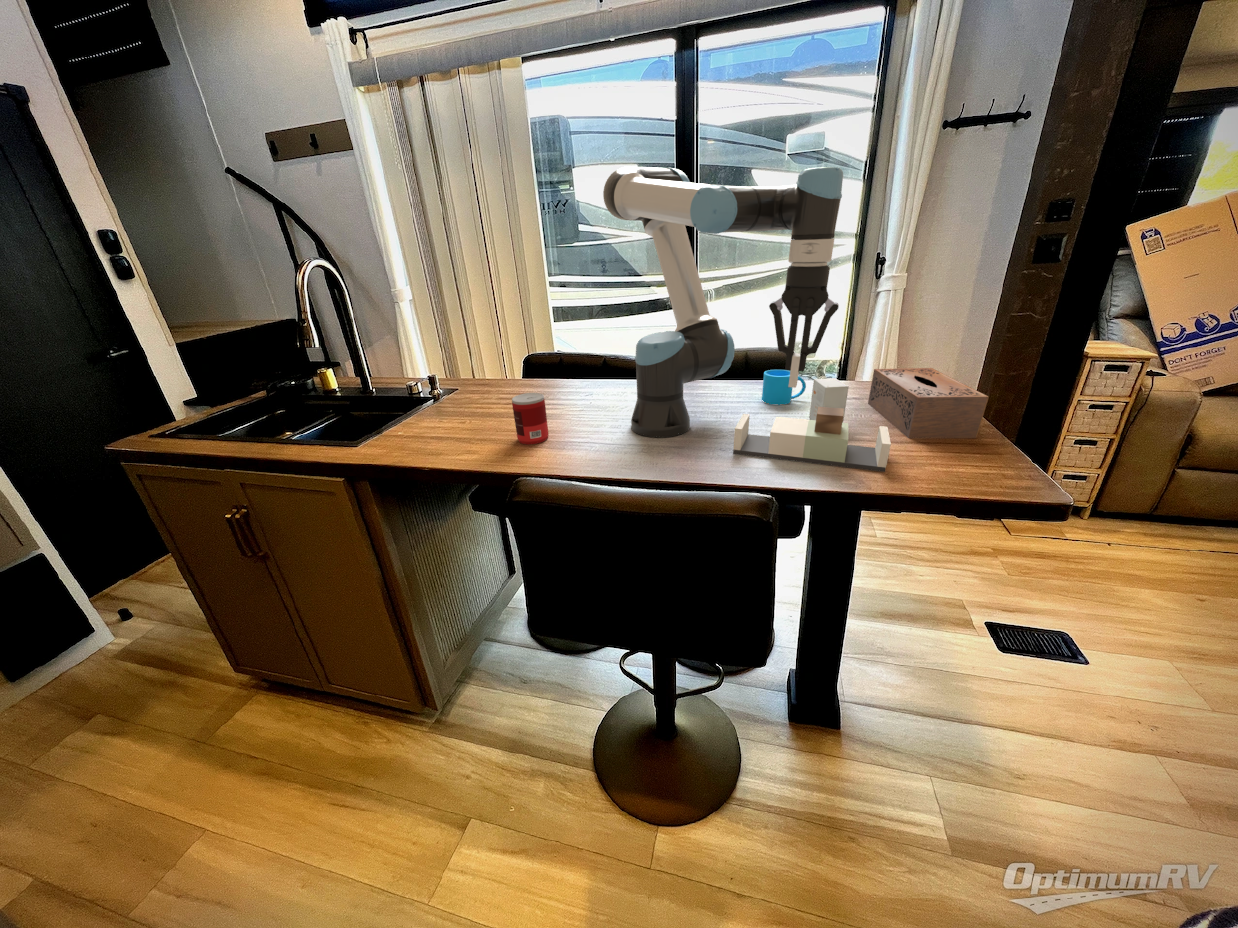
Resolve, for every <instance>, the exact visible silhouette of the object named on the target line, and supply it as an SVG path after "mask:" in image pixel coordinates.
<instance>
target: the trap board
mask: <svg viewBox="0 0 1238 928" xmlns="http://www.w3.org/2000/svg"><path fill="white" fill-rule="evenodd" d="M750 417H751V416H750V413H748V414H747V413H742V415H741V417H740V418H739V420H738V422H737V424H736V426H735V427H734V432H733V433H734V434H733V436H734V437H733V455H742V456H751V457H759V458H767V459H774V460H775V459H776V460H783V461H791V462H801V463H805V464H806V463H808V464H815V465H816V464H817V465H824V466H832V467H833V466H834V467H840V468H848V469H854V470H855V469H857V470H866V471H872V472H881V473H886V469H887V465H888V459H889V457H890V456H889V455H890V451H891V445H892V443H891V438H890V437H891V436H890V434H889V429H888V426H883V425H879V427H878V430H877V431H878V432H877V437H876V440H875V447H873V446H872V447H871V446H863V445H853V444H849V422H843V423H842V428H841V434H840V435H839V434H829V433H819V432H814V431H815V423H816V420H811V419H804V418H794V417H785V416H784V417H783V416H776V417H775V419H774V422H773V424H772V427H771V430H770V434H769V436H768V435H767V436H766V435H759V434H749V429H750V427H749V426H750Z"/></svg>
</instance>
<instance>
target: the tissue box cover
mask: <svg viewBox="0 0 1238 928" xmlns="http://www.w3.org/2000/svg"><path fill="white" fill-rule="evenodd" d="M989 397H990V396H988V395H986V394H985V393H982V392H980V391H978V390H976V389H974V388H972V387H971V386H968V385H966V384H964V383H962V382H960V381H959V380H956V379H954V378H953V377H950V376H949V375H947V374H944V373H942V372H940V371H938V370H936V369H934V368H933V367H913V368H912V367H909V368H908V367H907V368H905V367H903V368H874V369H873V375H872V379H871V385H870V391H869V397H868V401H867V404H868V405H870V407H871V408H873V409H874V410H875V411H876V412H877V413H878V414H880V415H881V416H882V418H883V419H885V420H887V422H889V423H890V424H891V425H893V427H894V428H896V429H897V431H899V432H900V433H901V434H903V435H904V436H905V437H906V438H907V439H977V438H978V435H979V430H980V427H981V424H982V421H983V417H984V414H985V412H986V411H985V410H986V407H987V404H988V401H989Z"/></svg>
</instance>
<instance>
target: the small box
mask: <svg viewBox="0 0 1238 928" xmlns="http://www.w3.org/2000/svg"><path fill="white" fill-rule="evenodd" d="M812 384H813V385H812V390H811V391H812V392H811V400H810V409H809V416H808V419H809V420H816V416H817V410H818V407H830V408H843V409H844V415H843V422H842V423H844V419H845V415H846V414H845V413H846V406H847V399H848V394H849V393H848V392H849V388H850V387H849V386H848V385H847V384H845V383H844V382H842V381H841V380H839V379H837V378H835V377H834V378H833V377H831V378H830V377H829V378H814V379H813V383H812Z"/></svg>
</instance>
